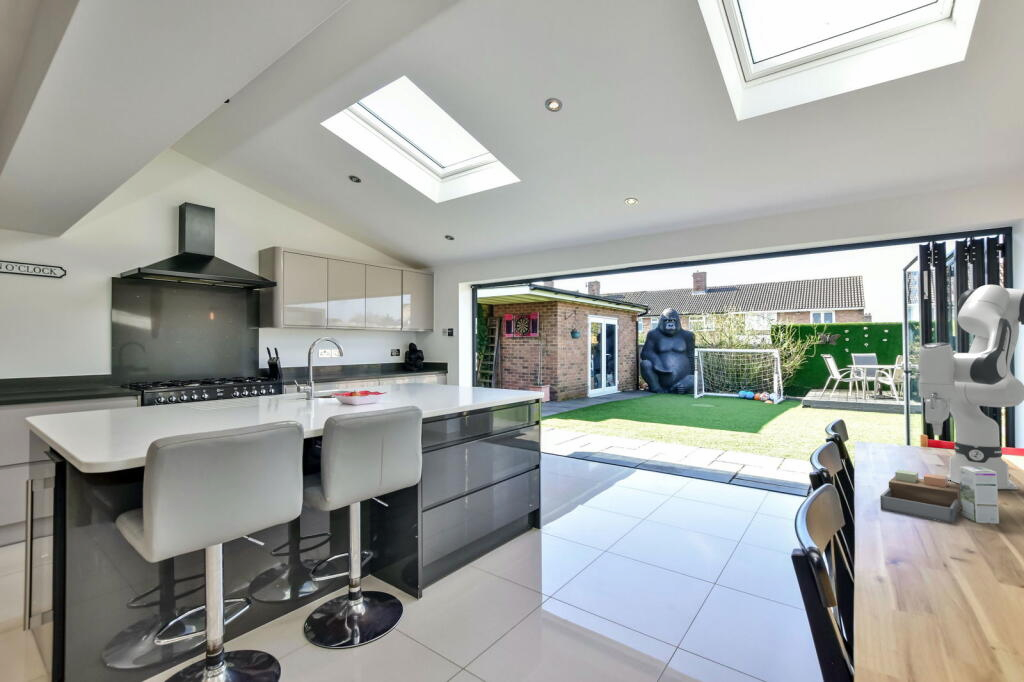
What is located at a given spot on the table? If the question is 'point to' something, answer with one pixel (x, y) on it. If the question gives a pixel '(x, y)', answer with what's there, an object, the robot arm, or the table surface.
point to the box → (918, 508)
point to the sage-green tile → (906, 476)
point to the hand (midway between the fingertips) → (937, 434)
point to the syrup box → (979, 494)
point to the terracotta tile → (936, 480)
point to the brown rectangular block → (926, 492)
